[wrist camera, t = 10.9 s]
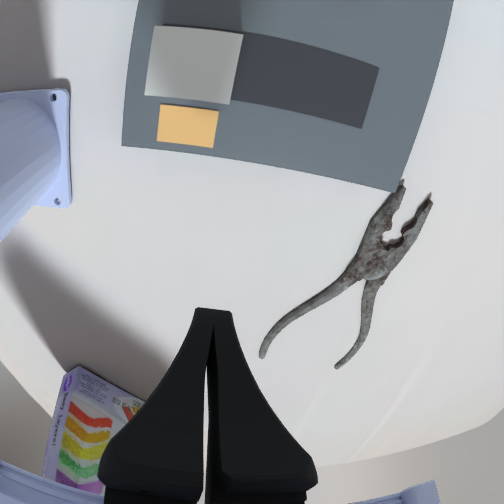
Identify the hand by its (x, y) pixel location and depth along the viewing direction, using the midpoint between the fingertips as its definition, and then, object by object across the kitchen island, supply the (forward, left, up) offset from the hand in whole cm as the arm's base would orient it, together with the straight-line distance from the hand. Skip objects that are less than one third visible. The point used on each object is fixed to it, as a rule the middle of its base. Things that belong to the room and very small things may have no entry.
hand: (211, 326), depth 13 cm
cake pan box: (-7, -28, -10) cm, 30 cm away
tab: (-2, +9, -8) cm, 12 cm away
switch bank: (+2, +14, -9) cm, 17 cm away
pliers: (+10, -6, -10) cm, 15 cm away
